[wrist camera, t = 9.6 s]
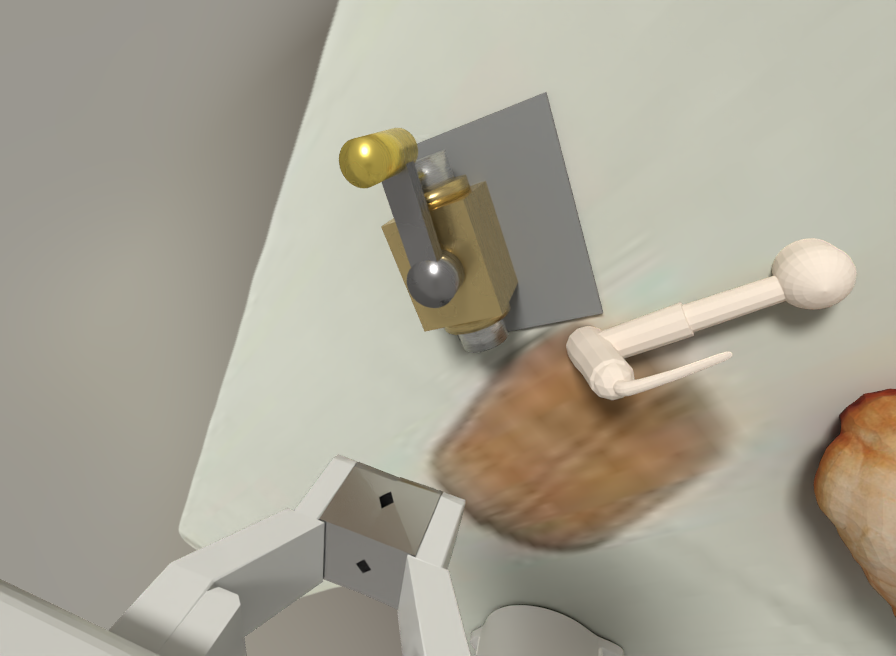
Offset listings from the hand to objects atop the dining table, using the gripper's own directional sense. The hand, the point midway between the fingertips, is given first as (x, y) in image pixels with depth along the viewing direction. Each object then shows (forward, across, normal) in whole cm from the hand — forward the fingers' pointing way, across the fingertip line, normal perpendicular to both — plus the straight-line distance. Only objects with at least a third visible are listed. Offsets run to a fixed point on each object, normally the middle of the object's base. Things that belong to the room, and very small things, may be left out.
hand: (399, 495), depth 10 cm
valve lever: (+21, -7, -1) cm, 22 cm away
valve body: (+27, -5, -4) cm, 28 cm away
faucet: (+28, +12, -5) cm, 31 cm away
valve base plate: (+28, -3, -3) cm, 28 cm away
